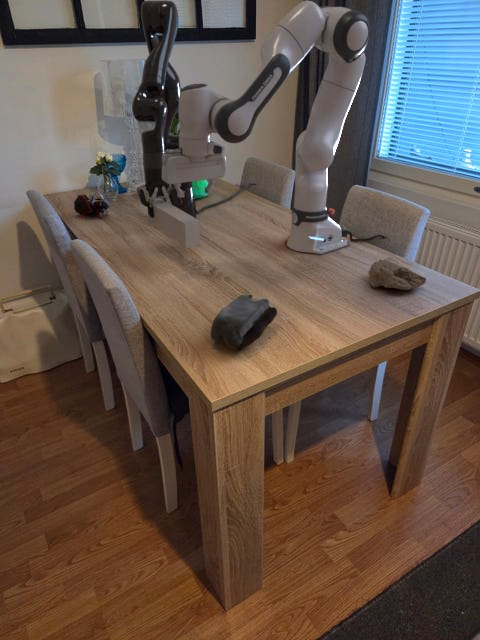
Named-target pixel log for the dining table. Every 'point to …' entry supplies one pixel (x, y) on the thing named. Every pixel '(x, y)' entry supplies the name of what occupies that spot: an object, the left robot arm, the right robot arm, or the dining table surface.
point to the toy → (90, 206)
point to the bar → (176, 223)
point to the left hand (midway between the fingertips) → (160, 215)
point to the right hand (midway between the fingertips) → (194, 195)
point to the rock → (242, 322)
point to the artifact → (393, 275)
